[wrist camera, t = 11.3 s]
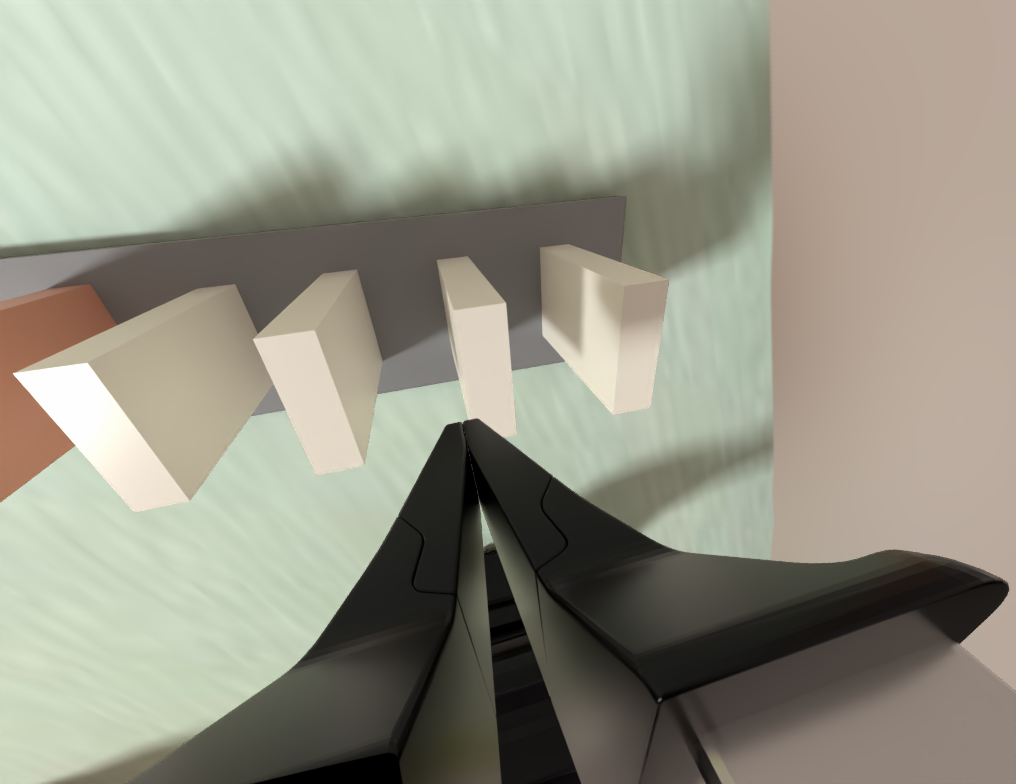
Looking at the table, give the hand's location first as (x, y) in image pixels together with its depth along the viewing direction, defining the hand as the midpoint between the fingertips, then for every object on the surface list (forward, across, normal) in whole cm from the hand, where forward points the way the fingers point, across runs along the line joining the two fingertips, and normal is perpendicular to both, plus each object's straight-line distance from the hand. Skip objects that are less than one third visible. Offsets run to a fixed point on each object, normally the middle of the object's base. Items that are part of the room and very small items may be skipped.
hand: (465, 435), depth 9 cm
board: (+13, +4, 0) cm, 14 cm away
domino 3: (+12, -1, 0) cm, 12 cm away
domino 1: (+12, +10, 0) cm, 15 cm away
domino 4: (+12, -7, 0) cm, 14 cm away
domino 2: (+12, +4, 0) cm, 13 cm away
